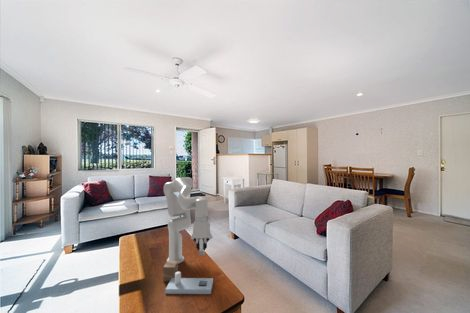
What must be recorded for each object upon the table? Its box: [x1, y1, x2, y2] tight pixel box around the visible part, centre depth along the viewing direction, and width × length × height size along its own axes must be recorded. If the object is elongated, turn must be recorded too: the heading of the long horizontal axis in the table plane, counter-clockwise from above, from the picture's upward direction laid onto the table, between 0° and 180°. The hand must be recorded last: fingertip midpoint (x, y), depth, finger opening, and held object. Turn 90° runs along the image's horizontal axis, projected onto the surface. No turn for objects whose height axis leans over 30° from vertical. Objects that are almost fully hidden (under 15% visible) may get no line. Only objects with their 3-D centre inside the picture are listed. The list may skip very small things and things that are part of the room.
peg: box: [198, 238, 205, 256], centre depth 111 cm, size 3×3×10 cm
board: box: [164, 271, 214, 295], centre depth 109 cm, size 10×26×8 cm, turn 90°
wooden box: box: [162, 260, 179, 282], centre depth 118 cm, size 7×7×9 cm
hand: (201, 249), depth 111 cm, fingers closed on peg, 3 cm apart
